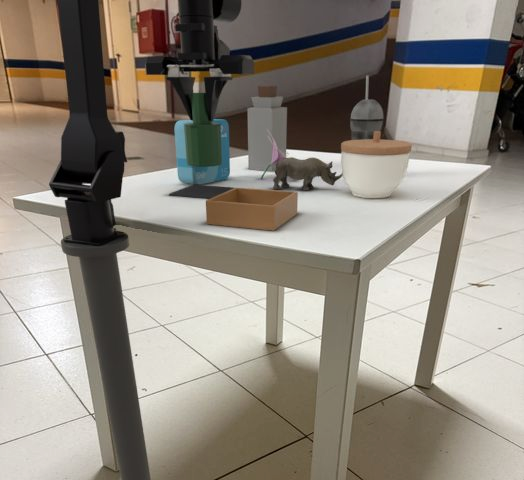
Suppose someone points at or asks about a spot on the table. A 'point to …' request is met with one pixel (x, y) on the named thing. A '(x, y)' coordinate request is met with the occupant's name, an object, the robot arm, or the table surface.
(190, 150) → the bottle
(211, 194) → the mat
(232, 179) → the table surface
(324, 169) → the rhino figurine
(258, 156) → the perfume bottle
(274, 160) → the lily
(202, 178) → the data package
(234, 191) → the carton
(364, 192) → the lidded bowl
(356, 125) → the beverage cup
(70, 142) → the robot arm
